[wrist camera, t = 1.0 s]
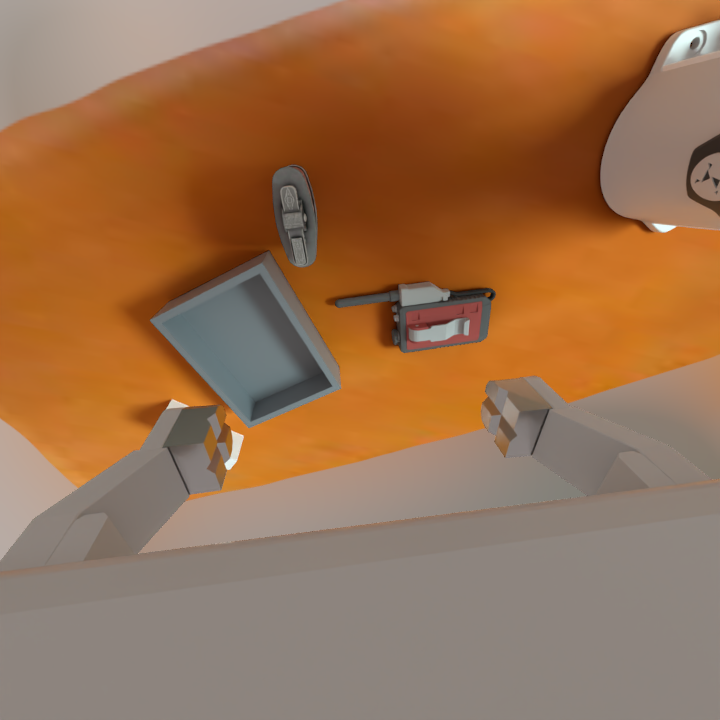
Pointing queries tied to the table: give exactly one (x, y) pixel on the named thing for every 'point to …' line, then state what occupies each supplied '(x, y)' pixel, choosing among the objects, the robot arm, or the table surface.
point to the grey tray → (251, 341)
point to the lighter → (295, 214)
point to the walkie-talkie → (433, 315)
